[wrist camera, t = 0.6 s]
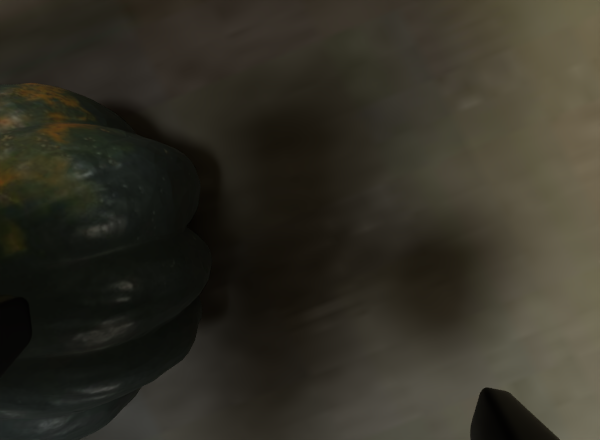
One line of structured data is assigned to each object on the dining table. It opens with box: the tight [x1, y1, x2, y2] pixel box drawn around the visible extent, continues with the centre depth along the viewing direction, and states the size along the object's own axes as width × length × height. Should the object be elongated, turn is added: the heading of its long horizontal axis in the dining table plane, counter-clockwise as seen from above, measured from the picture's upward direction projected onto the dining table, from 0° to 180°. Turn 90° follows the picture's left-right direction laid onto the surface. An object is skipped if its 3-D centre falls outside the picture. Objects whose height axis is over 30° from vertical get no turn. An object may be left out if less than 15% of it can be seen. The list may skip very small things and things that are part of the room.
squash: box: [0, 83, 212, 440], centre depth 19 cm, size 14×15×15 cm
